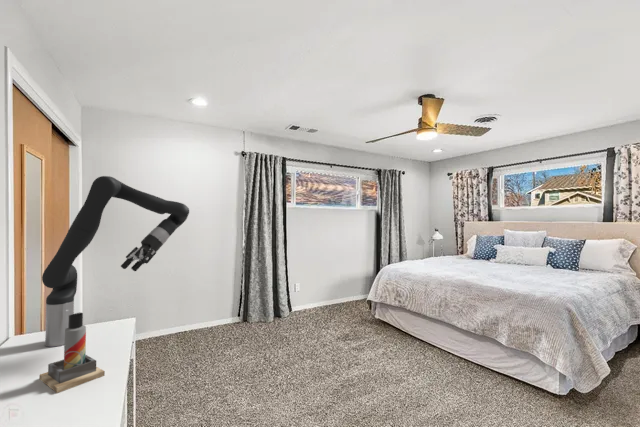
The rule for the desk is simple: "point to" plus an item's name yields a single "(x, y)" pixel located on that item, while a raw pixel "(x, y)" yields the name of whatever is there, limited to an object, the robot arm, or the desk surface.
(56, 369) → the socket board
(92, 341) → the desk surface
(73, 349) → the lotion bottle
